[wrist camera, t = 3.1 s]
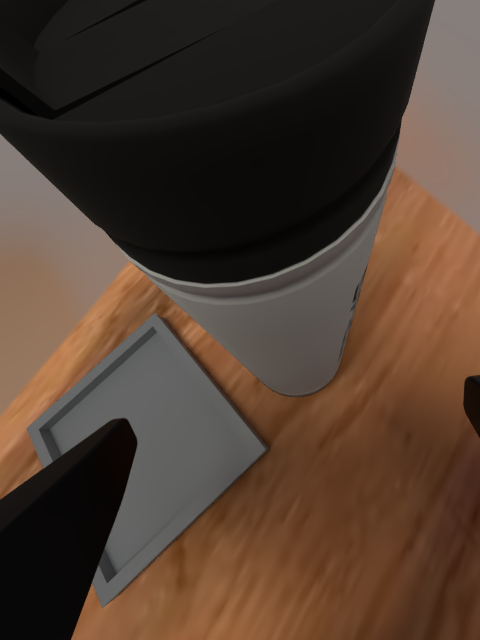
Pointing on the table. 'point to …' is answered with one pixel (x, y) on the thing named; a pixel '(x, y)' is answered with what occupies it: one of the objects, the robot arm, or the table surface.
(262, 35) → the travel mug
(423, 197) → the table surface
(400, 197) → the table surface
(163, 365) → the tray
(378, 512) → the table surface
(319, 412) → the table surface
